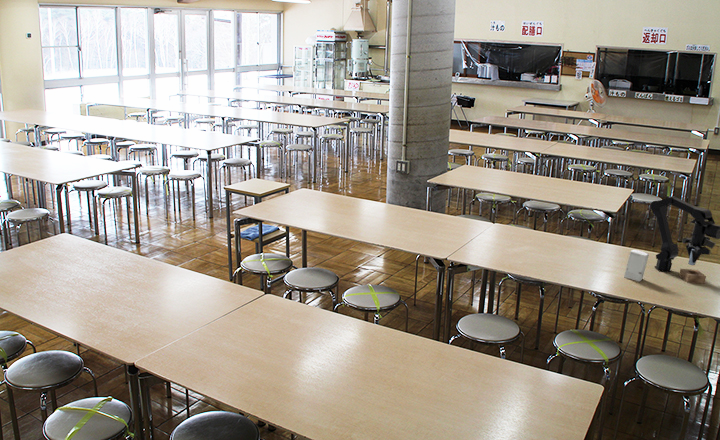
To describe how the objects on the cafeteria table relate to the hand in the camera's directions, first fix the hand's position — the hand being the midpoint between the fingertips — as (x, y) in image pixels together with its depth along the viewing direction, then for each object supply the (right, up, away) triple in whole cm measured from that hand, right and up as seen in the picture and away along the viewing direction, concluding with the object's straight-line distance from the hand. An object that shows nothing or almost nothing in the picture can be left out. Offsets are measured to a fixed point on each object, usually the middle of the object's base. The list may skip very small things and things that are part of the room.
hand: (692, 261), depth 310 cm
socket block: (+2, -10, +4) cm, 11 cm away
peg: (0, -2, +1) cm, 2 cm away
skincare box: (-30, -9, +1) cm, 32 cm away
